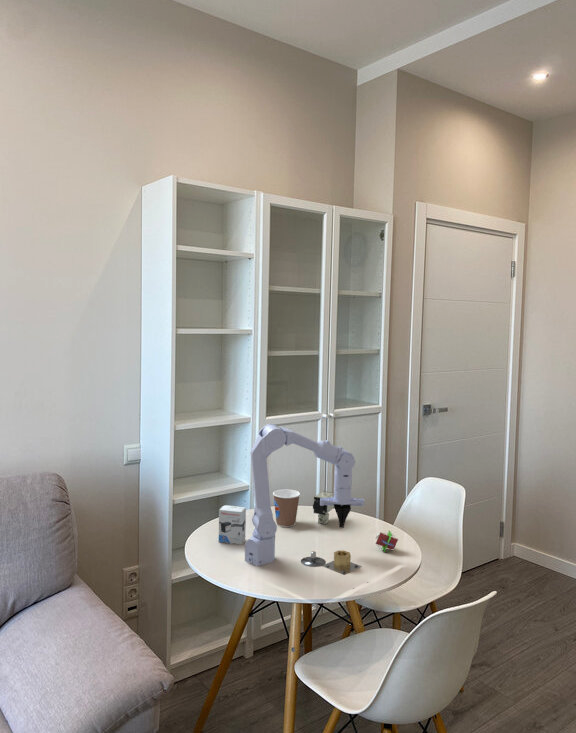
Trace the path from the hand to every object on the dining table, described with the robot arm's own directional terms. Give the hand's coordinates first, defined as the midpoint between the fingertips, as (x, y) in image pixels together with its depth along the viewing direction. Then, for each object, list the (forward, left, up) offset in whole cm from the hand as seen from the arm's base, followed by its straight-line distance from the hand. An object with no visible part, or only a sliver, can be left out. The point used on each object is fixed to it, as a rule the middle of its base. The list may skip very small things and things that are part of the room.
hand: (341, 526), depth 199 cm
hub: (-8, -7, -10) cm, 15 cm away
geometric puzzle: (+15, -8, -10) cm, 20 cm away
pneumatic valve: (+20, +24, -10) cm, 33 cm away
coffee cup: (+8, +33, -10) cm, 35 cm away
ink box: (-18, +34, -10) cm, 40 cm away
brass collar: (-8, -7, -9) cm, 14 cm away
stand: (-12, +1, -10) cm, 16 cm away
